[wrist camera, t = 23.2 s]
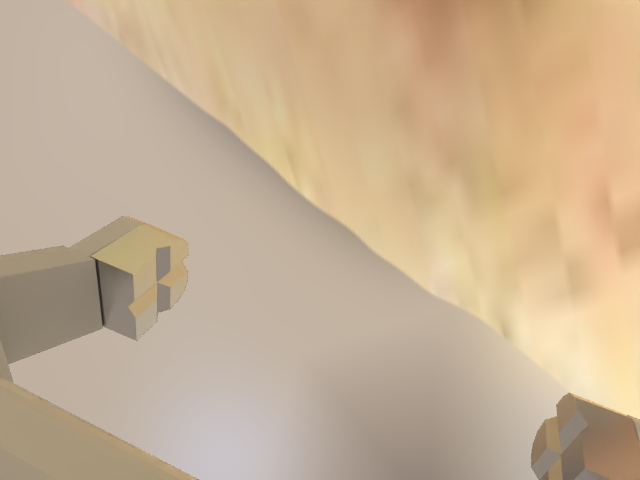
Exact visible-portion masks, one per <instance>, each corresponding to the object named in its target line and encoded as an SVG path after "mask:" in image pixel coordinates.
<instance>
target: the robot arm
mask: <svg viewBox="0 0 640 480" xmlns="http://www.w3.org/2000/svg"><path fill="white" fill-rule="evenodd" d="M187 256H188V243H187V242H186V241H185V240H184V239H183V238H180V237H178V236H176V235H173V234H171V233H168V232H166V231H164V230H162V229H159V228H157V227H154V226H152V225H150V224H146V223H144V222H142V221H139V220H137V219H135V218H132V217H130V216H122V217H120V218H119V219H117V220H115V221H114V222H112V223H110V224H108V225H107V226H105V227H103V228H102V229H100V230H98V231H97V232H95V233H93V234H91V235H90V236H88V237H86V238H85V239H83V240H81V241H80V242H78V243H76V244H75V245H73V246H71V247H70V248H67V247H65V246H58V247H51V248H45V249H39V250H32V251H26V252H20V253H14V254H7V255H1V256H0V480H199V479H197V478H195V477H192V476H191V475H189V474H187V473H185V472H183V471H181V470H179V469H177V468H175V467H174V466H172V465H170V464H168V463H166V462H164V461H162V460H160V459H158V458H156V457H154V456H152V455H151V454H149V453H147V452H145V451H143V450H141V449H139V448H137V447H135V446H133V445H131V444H129V443H128V442H126V441H124V440H122V439H120V438H118V437H116V436H114V435H112V434H110V433H108V432H106V431H104V430H103V429H101V428H99V427H97V426H95V425H93V424H91V423H89V422H87V421H85V420H83V419H81V418H80V417H78V416H76V415H74V414H72V413H70V412H68V411H66V410H64V409H62V408H60V407H58V406H56V405H54V404H53V403H51V402H49V401H47V400H45V399H43V398H41V397H39V396H37V395H35V394H33V393H31V392H30V391H28V390H26V389H23V388H22V387H20V386H18V385H16V384H14V383H13V380H12V376H11V373H10V369H9V366H8V364H10V363H13V362H16V361H18V360H21V359H24V358H26V357H29V356H31V355H34V354H36V353H39V352H42V351H45V350H47V349H50V348H52V347H55V346H58V345H60V344H63V343H66V342H68V341H71V340H74V339H76V338H79V337H81V336H84V335H87V334H89V333H92V332H95V331H97V330H100V329H102V328H103V327H106V328H108V329H110V330H113V331H115V332H117V333H120V334H122V335H124V336H127V337H129V338H131V339H134V340H136V341H137V340H138V339H139V338H140V337H141V336H142V335H143V334H144V333H146V331H148V330H149V329H150V328H151V327H152V326H153V325H154V324H155V323H156V322H157V316H158V312H162V311H165V310H169V309H171V308H172V307H173V306H174V305H175V304H176V303H177V302H178V301H179V299H180V298H181V296H182V294H183V292H184V291H185V288H186V284H187V281H188V271H187V269H186V267H185V265H184V263H183V260H184V259H185V258H186V257H187ZM556 407H557V417H554V418H550V419H546V420H545V421H544V422H543V424H542V425H541V427H540V428H539V430H538V431H537V434H536V437H535V440H534V442H533V447H532V454H531V467H532V469H533V471H534V472H535V474H536V476H537V478H538V479H539V480H640V419H637V418H634V417H632V416H629V415H625V414H622V413H620V412H617V411H615V410H612V409H610V408H607V407H605V406H602V405H599V404H597V403H594V402H592V401H589V400H587V399H584V398H582V397H579V396H576V395H574V394H571V393H568V394H566V395H565V396H563V398H562V399H561V400H560V401H559V402H558V404H557V405H556Z"/></svg>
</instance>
